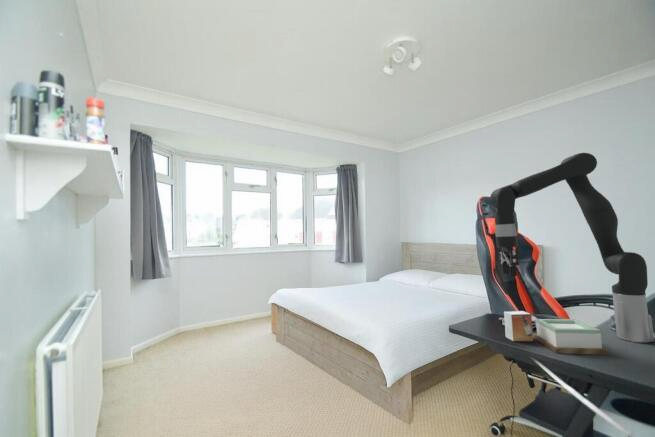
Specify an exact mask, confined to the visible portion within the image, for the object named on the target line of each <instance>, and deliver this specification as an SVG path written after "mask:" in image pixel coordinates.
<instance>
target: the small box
mask: <svg viewBox="0 0 655 437" xmlns="http://www.w3.org/2000/svg"><path fill="white" fill-rule="evenodd" d="M531 315H532V314H531V313H529V312H527V311H524V310H516V311H513V310H512V311H507V310H506V311H503V317H504V320H505V326H504V330H505V331H504V332H505V333H504V334H505V338H507V340H510V341H512V342H534V338H533V334H534V332H533V329H534V328H533V329H532V317H531Z"/></svg>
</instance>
